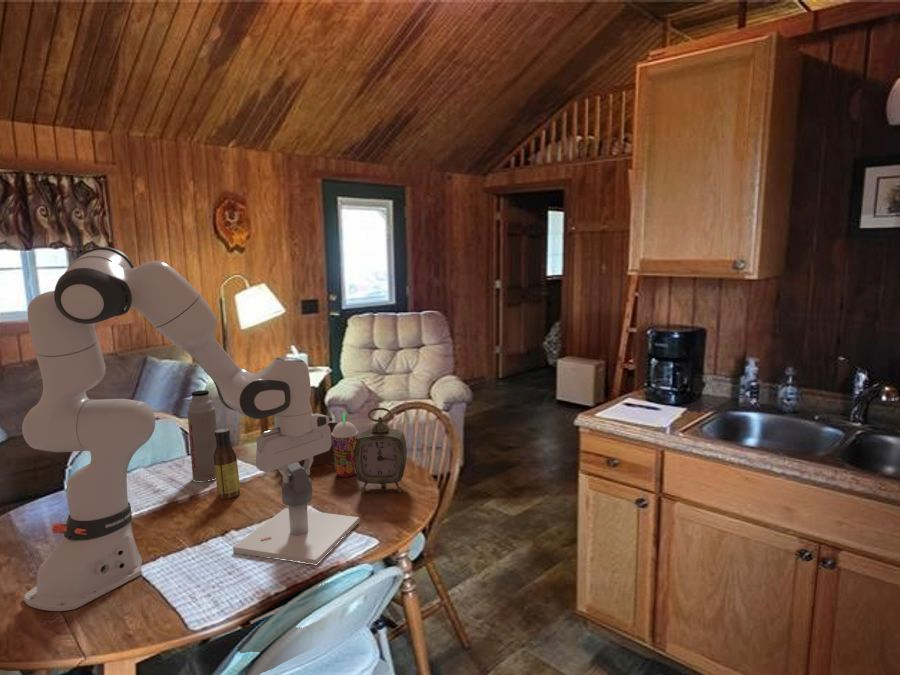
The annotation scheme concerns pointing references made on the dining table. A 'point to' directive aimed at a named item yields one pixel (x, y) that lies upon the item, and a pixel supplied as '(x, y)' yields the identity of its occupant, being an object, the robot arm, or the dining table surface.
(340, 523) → the base
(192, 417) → the thermos bottle
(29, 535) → the dining table surface
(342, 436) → the smoothie
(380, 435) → the tabletop clock
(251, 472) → the dining table surface
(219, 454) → the sauce bottle
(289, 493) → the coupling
